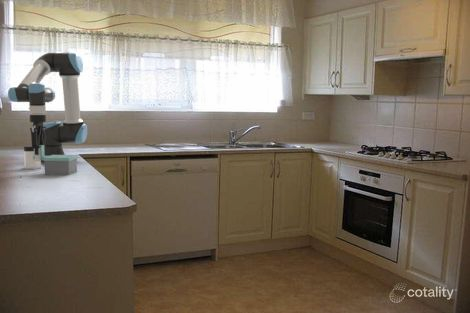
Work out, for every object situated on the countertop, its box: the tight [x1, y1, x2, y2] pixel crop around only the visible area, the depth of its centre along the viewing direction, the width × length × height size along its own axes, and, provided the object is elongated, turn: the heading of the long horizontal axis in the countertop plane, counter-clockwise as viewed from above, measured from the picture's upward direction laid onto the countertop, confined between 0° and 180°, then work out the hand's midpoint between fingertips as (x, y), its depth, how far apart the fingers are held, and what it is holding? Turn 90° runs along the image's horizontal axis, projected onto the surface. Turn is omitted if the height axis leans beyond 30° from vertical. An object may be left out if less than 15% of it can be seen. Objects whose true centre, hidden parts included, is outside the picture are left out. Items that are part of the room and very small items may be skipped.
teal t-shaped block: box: [33, 145, 79, 162], centre depth 252 cm, size 13×20×8 cm, turn 89°
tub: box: [43, 158, 78, 176], centre depth 252 cm, size 12×12×7 cm
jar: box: [22, 144, 42, 170], centre depth 269 cm, size 9×8×12 cm
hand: (39, 160), depth 252 cm, fingers closed on teal t-shaped block, 3 cm apart
